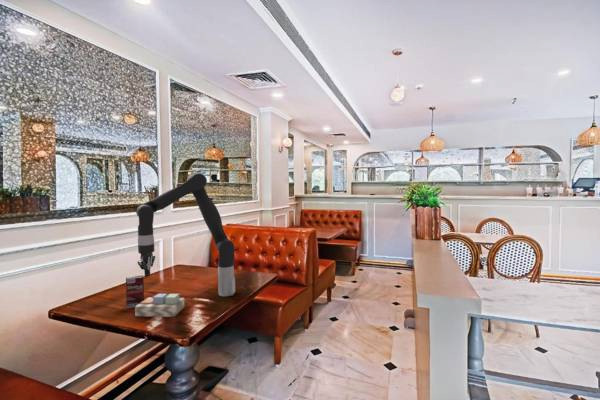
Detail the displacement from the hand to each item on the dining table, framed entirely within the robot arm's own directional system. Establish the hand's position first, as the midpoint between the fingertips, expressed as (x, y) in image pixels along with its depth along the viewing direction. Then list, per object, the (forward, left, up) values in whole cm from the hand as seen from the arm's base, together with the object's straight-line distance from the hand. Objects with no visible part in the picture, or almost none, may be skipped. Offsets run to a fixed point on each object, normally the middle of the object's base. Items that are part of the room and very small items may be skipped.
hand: (147, 276), depth 156 cm
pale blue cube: (-6, 0, -14) cm, 16 cm away
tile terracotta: (0, 0, -17) cm, 17 cm away
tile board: (-6, 0, -19) cm, 20 cm away
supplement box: (+12, -7, -19) cm, 23 cm away
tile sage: (-13, 0, -14) cm, 19 cm away
